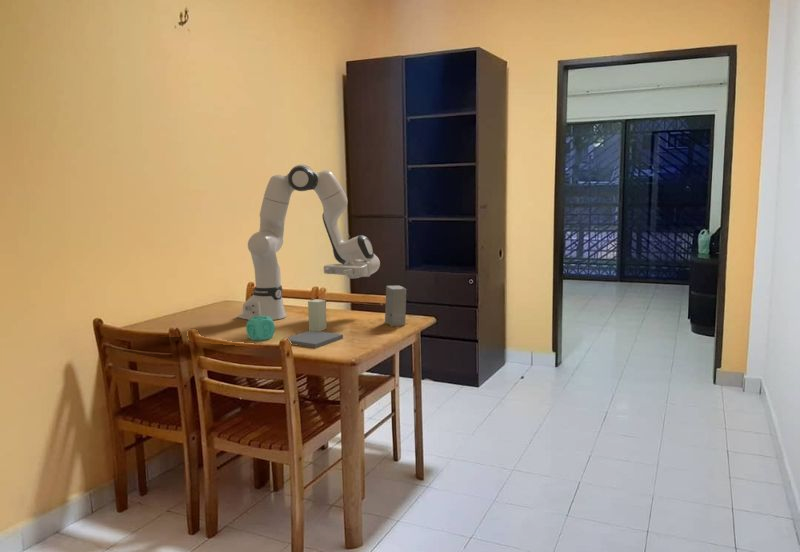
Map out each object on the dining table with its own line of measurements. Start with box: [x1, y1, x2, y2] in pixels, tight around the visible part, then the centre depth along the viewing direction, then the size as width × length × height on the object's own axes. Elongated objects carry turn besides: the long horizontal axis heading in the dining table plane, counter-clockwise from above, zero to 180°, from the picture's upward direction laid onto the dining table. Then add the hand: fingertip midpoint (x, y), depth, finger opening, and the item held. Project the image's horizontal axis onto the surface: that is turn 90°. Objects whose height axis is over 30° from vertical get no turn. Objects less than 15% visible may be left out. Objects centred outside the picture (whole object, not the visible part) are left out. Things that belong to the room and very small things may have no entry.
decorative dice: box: [245, 316, 276, 342], centre depth 236 cm, size 8×8×8 cm
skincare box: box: [384, 285, 407, 327], centre depth 255 cm, size 8×7×16 cm
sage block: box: [307, 298, 328, 332], centre depth 248 cm, size 5×5×12 cm
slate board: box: [287, 330, 344, 349], centre depth 231 cm, size 16×16×2 cm
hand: (334, 272), depth 255 cm, fingers open, 8 cm apart
